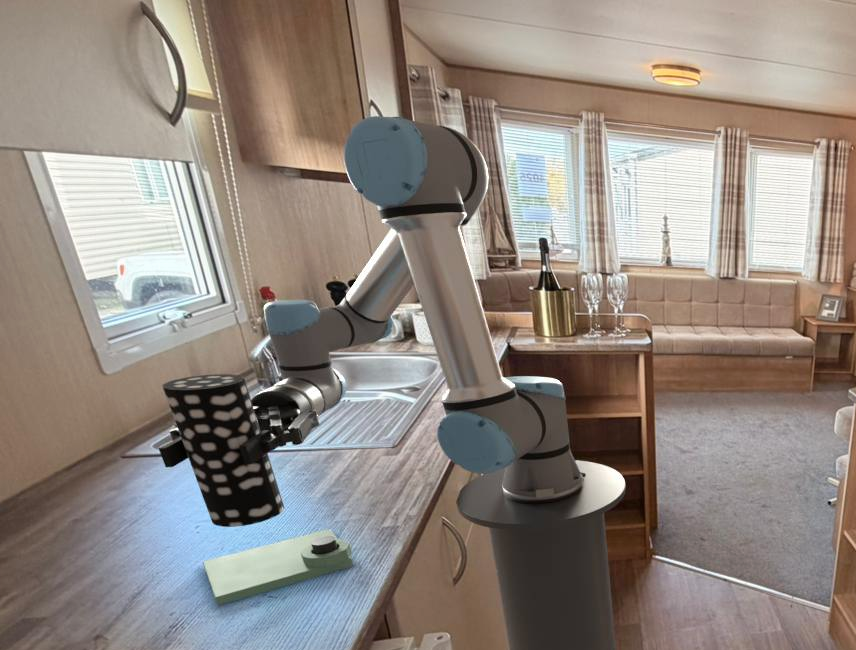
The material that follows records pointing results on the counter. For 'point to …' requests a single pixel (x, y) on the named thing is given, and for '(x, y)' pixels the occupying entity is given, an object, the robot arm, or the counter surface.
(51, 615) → the counter surface
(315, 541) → the button
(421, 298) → the robot arm
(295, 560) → the scale
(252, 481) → the white-spotted black cylinder
